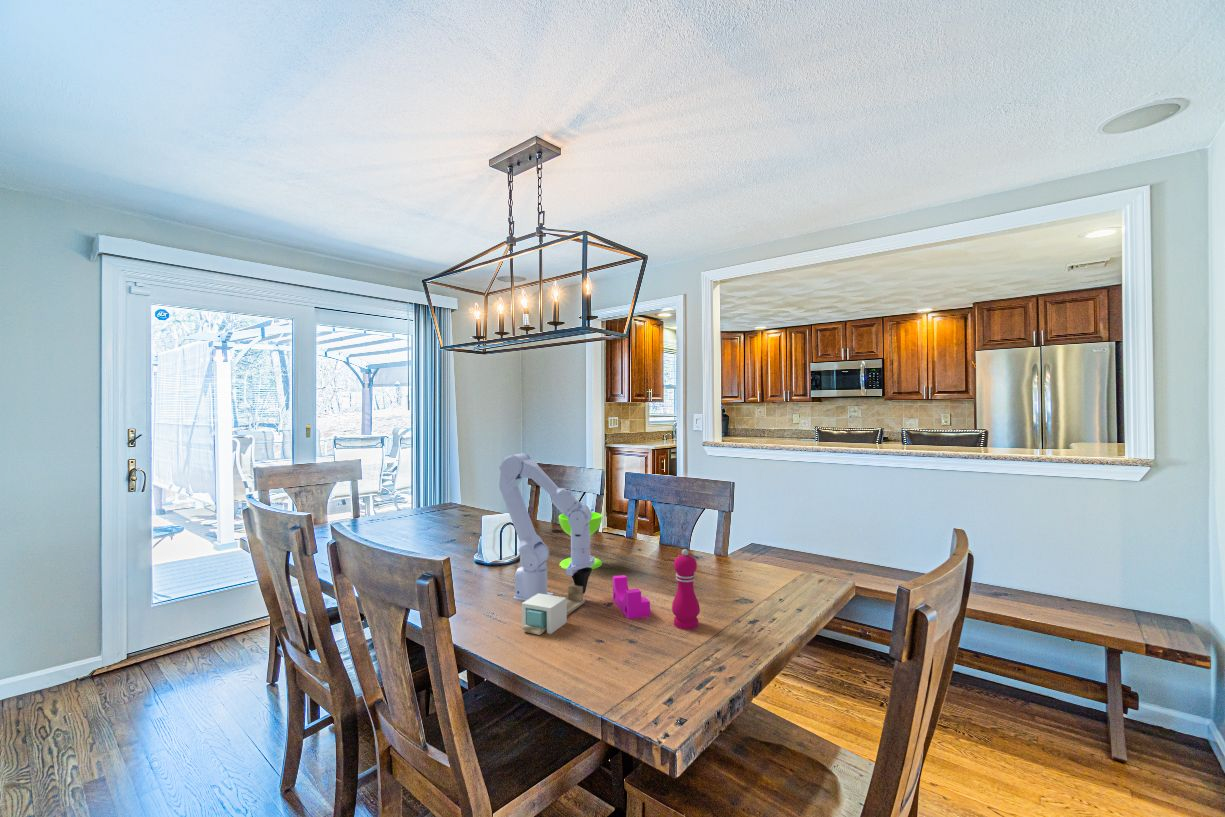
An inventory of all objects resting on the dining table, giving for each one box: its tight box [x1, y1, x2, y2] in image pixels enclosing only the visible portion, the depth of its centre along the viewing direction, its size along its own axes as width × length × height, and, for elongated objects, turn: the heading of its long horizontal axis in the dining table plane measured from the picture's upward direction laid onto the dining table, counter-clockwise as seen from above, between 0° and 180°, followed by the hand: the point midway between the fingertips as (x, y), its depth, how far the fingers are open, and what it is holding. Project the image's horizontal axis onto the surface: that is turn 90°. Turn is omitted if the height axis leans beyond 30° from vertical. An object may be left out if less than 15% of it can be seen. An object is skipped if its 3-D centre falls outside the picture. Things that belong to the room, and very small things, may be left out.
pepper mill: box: [671, 548, 701, 631], centre depth 138 cm, size 7×7×20 cm
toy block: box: [612, 574, 651, 620], centre depth 150 cm, size 15×6×8 cm, turn 16°
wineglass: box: [558, 511, 603, 570], centre depth 194 cm, size 16×16×18 cm
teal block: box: [527, 609, 547, 630], centre depth 136 cm, size 4×4×4 cm
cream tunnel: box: [521, 593, 568, 635], centre depth 139 cm, size 9×8×7 cm
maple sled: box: [523, 584, 586, 636], centre depth 144 cm, size 5×24×5 cm, turn 155°
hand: (581, 593), depth 157 cm, fingers closed
